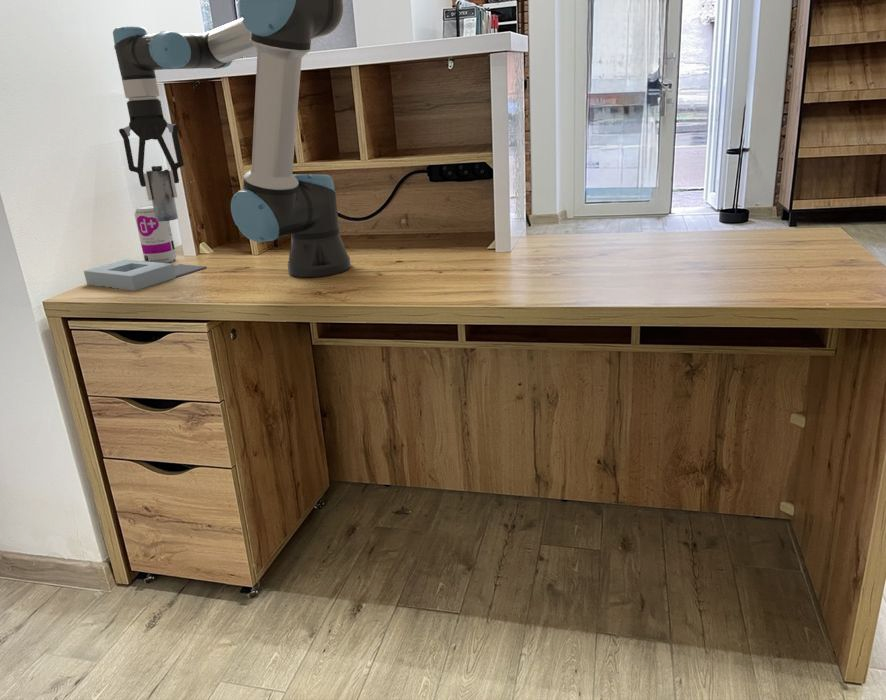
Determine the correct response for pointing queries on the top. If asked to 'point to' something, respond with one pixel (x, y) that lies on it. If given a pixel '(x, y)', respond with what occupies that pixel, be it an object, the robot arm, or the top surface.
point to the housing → (130, 274)
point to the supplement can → (154, 236)
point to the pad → (186, 269)
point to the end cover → (162, 194)
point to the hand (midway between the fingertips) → (162, 198)
